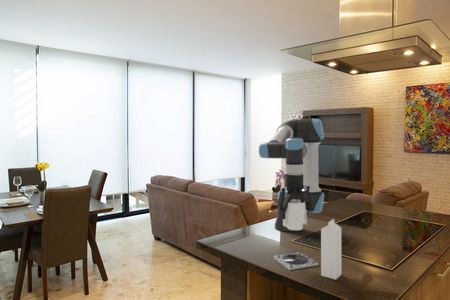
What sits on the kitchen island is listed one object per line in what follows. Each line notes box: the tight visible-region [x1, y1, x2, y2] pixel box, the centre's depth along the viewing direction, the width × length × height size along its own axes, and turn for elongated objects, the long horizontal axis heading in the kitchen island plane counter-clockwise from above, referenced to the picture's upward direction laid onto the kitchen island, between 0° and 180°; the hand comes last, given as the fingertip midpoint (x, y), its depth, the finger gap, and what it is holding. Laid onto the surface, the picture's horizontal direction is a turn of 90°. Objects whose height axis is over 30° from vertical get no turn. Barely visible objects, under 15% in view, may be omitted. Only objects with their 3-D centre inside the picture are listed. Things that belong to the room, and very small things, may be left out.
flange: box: [273, 251, 319, 271], centre depth 142 cm, size 14×14×2 cm
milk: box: [320, 218, 342, 281], centre depth 127 cm, size 6×6×22 cm
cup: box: [286, 199, 305, 231], centre depth 141 cm, size 9×9×12 cm
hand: (294, 225), depth 141 cm, fingers closed on cup, 9 cm apart
